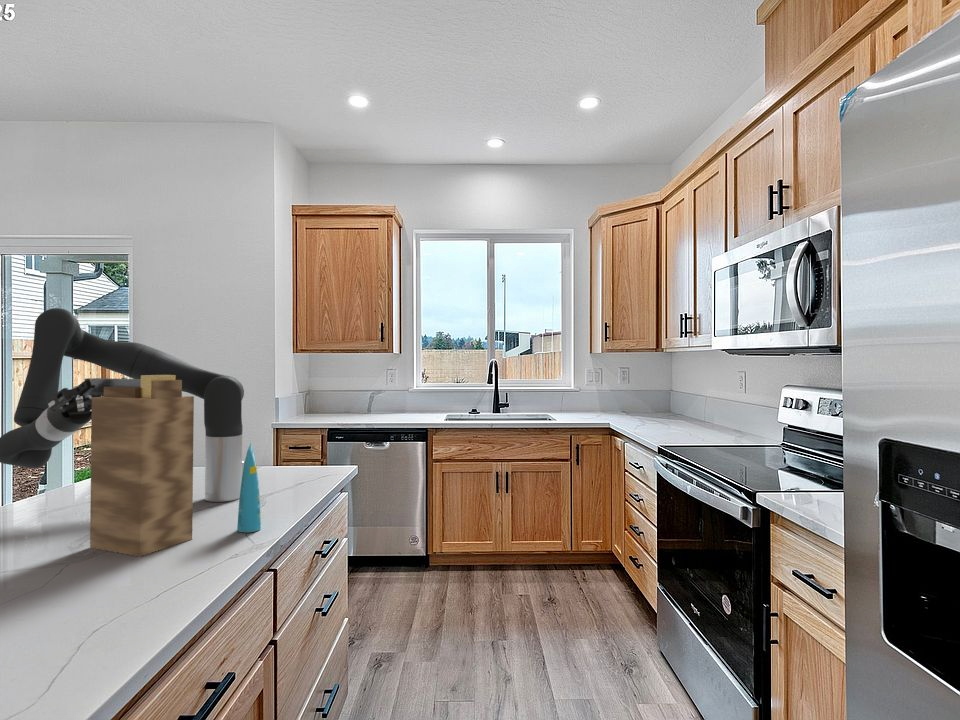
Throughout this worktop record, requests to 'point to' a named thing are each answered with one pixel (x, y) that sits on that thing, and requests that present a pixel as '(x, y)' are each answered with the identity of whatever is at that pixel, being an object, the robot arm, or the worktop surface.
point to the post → (141, 469)
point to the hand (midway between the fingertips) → (110, 381)
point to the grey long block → (129, 384)
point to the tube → (249, 496)
